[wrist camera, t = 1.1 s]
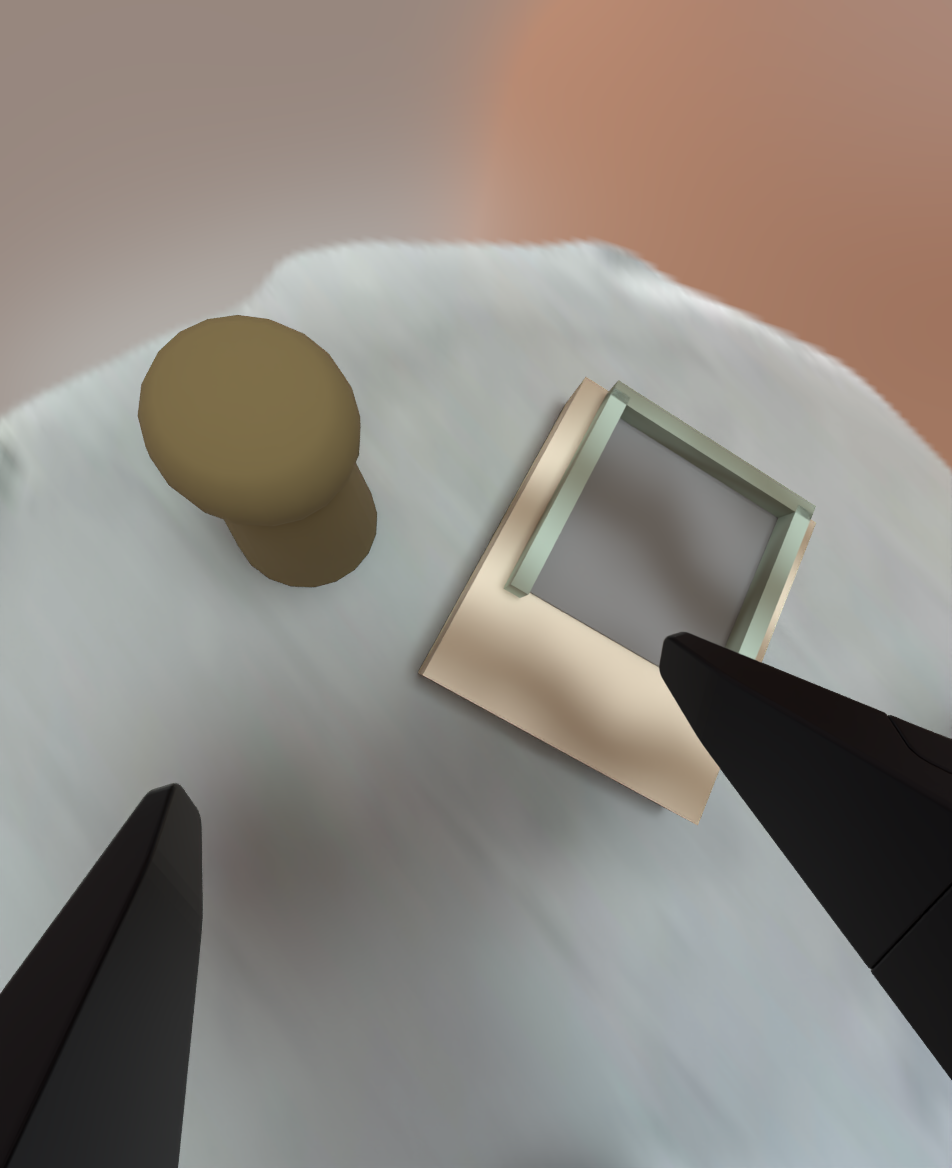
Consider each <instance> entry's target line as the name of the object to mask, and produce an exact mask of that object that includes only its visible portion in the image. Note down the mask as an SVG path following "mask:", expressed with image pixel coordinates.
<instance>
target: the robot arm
mask: <svg viewBox="0 0 952 1168" xmlns="http://www.w3.org/2000/svg"><path fill="white" fill-rule="evenodd" d="M659 671H660V675H661V677H662V679H663V681H664V682H665V684H666V686H667V687H668V689H669V691H670V692H671V694H672V696H673V697H674V699H675V701H676V702H677V704H678V706H679V707H680V709H681V711H682V712H683V714H684V716H685V717H686V719H687V721H688V722H689V724H690V726H691V728H692V729H693V731H694V732H695V734H696V736H697V737H698V739H699V740H700V742H701V743H702V745H703V746H704V747H705V749H706V750H707V752H708V753H709V754H710V756H711V757H712V758H713V760H714V761H715V762H716V764H717V765H718V766H719V768H720V769H721V770H722V772H723V773H724V775H725V776H726V777H727V779H728V780H729V781H730V783H731V784H732V785H733V787H734V788H735V789H736V791H737V792H738V793H739V795H740V796H741V797H742V799H743V800H744V801H745V803H746V804H747V805H748V807H749V808H750V809H751V811H752V812H753V813H754V815H755V816H756V817H757V819H758V820H759V822H760V823H761V824H762V826H763V827H764V828H765V830H766V831H767V832H768V834H769V835H770V836H771V838H772V839H773V840H774V842H775V843H776V844H777V846H778V847H779V848H780V850H781V851H782V852H783V854H784V855H785V856H786V858H787V859H788V860H789V862H790V863H791V865H792V866H793V867H794V869H795V870H796V871H797V873H798V874H799V875H800V877H801V878H802V879H803V881H804V882H805V883H806V885H807V886H808V887H809V889H810V890H811V891H812V893H813V894H814V895H815V897H816V898H817V899H818V901H819V902H820V903H821V905H822V906H823V907H824V909H825V910H826V912H827V913H828V914H829V916H830V917H831V918H832V920H833V921H834V922H835V924H836V925H837V926H838V928H839V929H840V930H841V932H842V933H843V934H844V936H845V937H846V938H847V940H848V941H849V942H850V944H851V945H852V946H853V948H854V949H855V950H856V952H857V953H858V954H859V956H860V957H861V959H862V960H863V961H864V963H865V964H866V965H867V967H868V968H870V969H871V972H872V974H873V975H874V977H875V978H876V979H877V981H878V982H879V983H880V985H881V986H882V987H883V989H884V990H885V991H886V993H887V994H888V995H889V997H890V998H891V999H892V1001H893V1002H894V1003H895V1005H896V1006H897V1007H898V1009H899V1010H900V1011H901V1013H902V1014H903V1015H904V1017H905V1018H906V1019H907V1021H908V1022H909V1023H910V1025H911V1026H912V1028H913V1029H914V1030H915V1032H916V1033H917V1034H918V1036H919V1037H920V1038H921V1040H922V1041H923V1042H924V1044H925V1045H926V1046H927V1048H928V1049H929V1050H930V1052H931V1053H932V1054H933V1056H934V1057H935V1058H936V1060H937V1061H938V1062H939V1064H940V1065H941V1066H942V1068H943V1069H944V1070H945V1072H946V1073H947V1074H948V1076H949V1077H950V1078H951V1080H952V739H950V738H947V737H945V736H942V735H940V734H937V733H934V732H932V731H929V730H927V729H924V728H922V727H919V726H917V725H914V724H912V723H909V722H907V721H904V720H902V719H899V718H897V717H894V716H892V715H888V716H887V714H886V713H884V712H882V711H879V710H877V709H875V708H872V707H870V706H867V705H865V704H862V703H860V702H857V701H855V700H853V699H850V698H848V697H845V696H843V695H840V694H838V693H835V692H833V691H830V690H828V689H826V688H823V687H821V686H818V685H816V684H813V683H811V682H808V681H806V680H804V679H801V678H799V677H796V676H794V675H791V674H789V673H786V672H784V671H781V670H779V669H777V668H774V667H772V666H769V665H767V664H764V663H762V662H759V661H757V660H755V659H752V658H750V657H747V656H745V655H742V654H740V653H737V652H735V651H732V650H730V649H728V648H725V647H723V646H720V645H718V644H715V643H713V642H710V641H708V640H706V639H703V638H701V637H698V636H696V635H693V634H691V633H688V632H679V633H676V634H672V635H669V636H667V637H666V638H665V639H664V641H663V645H662V651H661V657H660V662H659ZM202 919H203V892H202V826H201V818H200V814H199V811H198V810H197V808H196V806H195V805H194V804H193V802H192V801H191V799H190V798H189V796H188V795H187V793H186V792H185V790H184V789H183V788H182V786H181V785H179V784H177V783H173V784H169V785H166V786H163V787H159V788H156V789H153V790H151V791H149V792H148V793H147V794H146V795H145V796H144V798H143V799H142V800H141V802H140V803H139V805H138V806H137V807H136V809H135V810H134V811H133V813H132V814H131V815H130V817H129V818H128V820H127V821H126V822H125V824H124V825H123V826H122V828H121V829H120V830H119V832H118V833H117V835H116V836H115V837H114V839H113V840H112V841H111V843H110V844H109V846H108V847H107V848H106V850H105V851H104V852H103V854H102V855H101V856H100V858H99V859H98V861H97V862H96V863H95V865H94V866H93V867H92V869H91V870H90V872H89V873H88V874H87V876H86V877H85V878H84V880H83V881H82V882H81V884H80V885H79V887H78V888H77V889H76V891H75V892H74V893H73V895H72V896H71V897H70V899H69V900H68V902H67V903H66V904H65V906H64V907H63V908H62V910H61V911H60V913H59V914H58V915H57V917H56V918H55V919H54V921H53V922H52V923H51V925H50V926H49V928H48V929H47V930H46V932H45V933H44V934H43V936H42V937H41V939H40V940H39V941H38V943H37V944H36V945H35V947H34V948H33V949H32V951H31V952H30V954H29V955H28V956H27V958H26V959H25V960H24V962H23V963H22V965H21V966H20V967H19V969H18V970H17V971H16V973H15V974H14V975H13V977H12V978H11V980H10V981H9V982H8V984H7V985H6V986H5V988H4V989H3V990H2V992H1V993H0V1168H178V1163H179V1153H180V1143H181V1133H182V1123H183V1113H184V1103H185V1093H186V1083H187V1073H188V1063H189V1053H190V1043H191V1033H192V1023H193V1013H194V1003H195V993H196V983H197V974H198V964H199V954H200V944H201V933H202Z"/></svg>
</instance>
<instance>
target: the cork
mask: <svg viewBox="0 0 952 1168" xmlns="http://www.w3.org/2000/svg"><path fill="white" fill-rule="evenodd" d="M138 418H139V422H140V426H141V430H142V434H143V438H144V442H145V446H146V449H147V451H148V454H149V456H150V458H151V459H152V461H153V462H154V464H155V465H156V467H157V468H158V470H159V471H160V473H161V474H162V476H163V477H164V479H165V480H166V482H167V483H168V485H169V486H171V487H172V488H173V489H175V490H176V491H177V492H179V493H180V494H181V495H183V496H184V497H185V498H186V499H188V500H189V501H190V502H192V503H193V504H194V505H196V506H197V507H198V508H200V509H201V510H202V511H204V512H205V513H208V514H210V515H213V516H216V517H219V518H221V519H224V521H225V522H226V524H227V526H228V528H229V530H230V532H231V533H232V535H233V537H234V539H235V541H236V543H237V544H238V546H239V548H240V549H241V551H242V552H243V554H244V555H245V557H246V558H247V560H248V561H249V563H250V564H251V565H252V566H253V567H255V568H256V569H257V570H259V571H260V572H261V573H262V574H264V575H265V576H266V577H268V578H269V579H272V580H274V581H277V582H280V583H283V584H286V585H289V586H295V587H317V586H321V585H325V584H328V583H332V582H336V581H338V580H339V579H341V578H342V577H344V576H345V575H347V574H349V573H350V572H352V571H353V570H355V569H356V568H357V566H358V565H359V564H360V563H361V562H362V560H363V559H364V558H365V557H366V556H367V554H368V553H369V551H370V548H371V546H372V543H373V541H374V538H375V535H376V526H377V511H376V508H375V504H374V501H373V497H372V494H371V492H370V490H369V488H368V486H367V484H366V482H365V480H364V478H363V476H362V474H361V472H360V470H359V468H358V466H357V464H356V460H357V458H358V456H359V445H360V415H359V411H358V408H357V404H356V401H355V397H354V394H353V390H352V388H351V386H350V384H349V383H348V381H347V380H346V378H345V377H344V375H343V374H342V372H341V371H340V369H339V368H338V366H337V365H336V363H335V362H334V361H333V359H332V358H331V356H330V355H329V353H327V352H326V351H325V350H324V349H322V348H321V347H320V346H319V345H317V344H316V343H315V342H314V341H312V340H311V339H310V338H309V337H307V336H306V335H305V334H303V333H301V332H298V331H296V330H294V329H291V328H289V327H287V326H284V325H282V324H279V323H277V322H275V321H272V320H269V319H264V318H256V317H248V316H241V315H234V316H227V317H220V318H213V319H207V320H205V321H203V322H200V323H198V324H196V325H194V326H192V327H189V328H187V329H185V330H183V331H181V332H179V333H178V334H177V335H176V336H175V337H174V338H173V339H172V340H171V341H169V342H168V343H167V344H166V345H165V346H164V347H163V348H162V349H161V350H160V351H159V352H158V353H157V355H156V357H155V359H154V361H153V363H152V365H151V367H150V369H149V371H148V372H147V374H146V376H145V378H144V380H143V382H142V384H141V392H140V401H139V409H138Z"/></svg>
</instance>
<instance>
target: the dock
mask: <svg viewBox="0 0 952 1168" xmlns="http://www.w3.org/2000/svg"><path fill="white" fill-rule="evenodd" d="M815 507H816V506H815V505H813V504H811V503H810V502H808V501H807V500H805V499H804V498H802V497H800V496H799V495H797V494H796V493H794V492H793V491H791V490H789V489H788V488H786V487H785V486H783V485H782V484H780V483H778V482H777V481H775V480H774V479H772V478H771V477H769V476H768V475H766V474H764V473H763V472H761V471H760V470H758V469H757V468H755V467H753V466H752V465H750V464H749V463H747V462H746V461H744V460H742V459H741V458H739V457H738V456H736V455H735V454H733V453H731V452H730V451H728V450H727V449H725V448H724V447H722V446H721V445H719V444H717V443H716V442H714V441H713V440H711V439H710V438H708V437H706V436H705V435H703V434H702V433H700V432H699V431H697V430H695V429H694V428H692V427H691V426H689V425H688V424H686V423H684V422H683V421H681V420H680V419H678V418H677V417H675V416H674V415H672V414H670V413H669V412H667V411H666V410H664V409H663V408H661V407H659V406H658V405H656V404H655V403H653V402H652V401H650V400H648V399H647V398H645V397H644V396H642V395H641V394H639V393H638V392H636V391H634V390H633V389H631V388H630V387H628V386H627V385H625V384H623V383H622V382H620V381H618V382H617V383H616V384H615V385H614V386H613V387H612V389H611V390H610V391H607V390H606V389H604V388H603V387H601V386H599V385H598V384H596V383H595V382H593V381H592V380H590V379H588V378H587V377H585V379H584V380H583V381H582V383H581V384H580V385H579V387H578V388H577V389H576V391H575V392H574V393H573V395H572V396H571V397H570V399H569V400H568V401H567V403H566V404H565V406H564V408H563V410H562V412H561V413H560V415H559V417H558V419H557V421H556V422H555V424H554V426H553V428H552V430H551V432H550V433H549V435H548V437H547V439H546V441H545V442H544V444H543V446H542V448H541V450H540V452H539V453H538V455H537V457H536V459H535V461H534V462H533V464H532V466H531V468H530V470H529V472H528V473H527V475H526V477H525V479H524V481H523V482H522V484H521V486H520V488H519V490H518V492H517V493H516V495H515V497H514V499H513V501H512V502H511V504H510V506H509V508H508V510H507V512H506V513H505V515H504V517H503V519H502V521H501V523H500V524H499V526H498V528H497V530H496V532H495V533H494V535H493V537H492V539H491V541H490V543H489V544H488V546H487V548H486V550H485V552H484V553H483V555H482V557H481V559H480V561H479V563H478V564H477V566H476V568H475V570H474V572H473V573H472V575H471V577H470V579H469V581H468V583H467V584H466V586H465V588H464V590H463V592H462V593H461V595H460V597H459V599H458V601H457V603H456V604H455V606H454V608H453V610H452V612H451V613H450V615H449V617H448V619H447V621H446V623H445V624H444V626H443V628H442V630H441V632H440V633H439V635H438V637H437V639H436V641H435V643H434V644H433V646H432V648H431V650H430V652H429V653H428V655H427V657H426V659H425V661H424V663H423V664H422V666H421V668H420V670H419V672H418V673H419V674H421V675H423V676H424V677H426V678H428V679H430V680H432V681H434V682H435V683H437V684H439V685H441V686H443V687H445V688H446V689H448V690H450V691H452V692H454V693H456V694H457V695H459V696H461V697H463V698H465V699H467V700H468V701H470V702H472V703H474V704H476V705H478V706H479V707H481V708H483V709H485V710H487V711H488V712H490V713H492V714H494V715H496V716H498V717H499V718H501V719H503V720H505V721H507V722H509V723H510V724H512V725H514V726H516V727H518V728H520V729H521V730H523V731H525V732H527V733H529V734H531V735H532V736H534V737H536V738H538V739H540V740H542V741H543V742H545V743H547V744H549V745H551V746H553V747H554V748H556V749H558V750H560V751H562V752H564V753H565V754H567V755H569V756H571V757H573V758H575V759H576V760H578V761H580V762H582V763H584V764H586V765H587V766H589V767H591V768H593V769H595V770H597V771H598V772H600V773H602V774H604V775H606V776H608V777H609V778H611V779H613V780H615V781H617V782H618V783H620V784H622V785H624V786H626V787H628V788H629V789H631V790H633V791H635V792H637V793H639V794H640V795H642V796H644V797H646V798H648V799H650V800H651V801H653V802H655V803H657V804H659V805H661V806H662V807H664V808H666V809H668V810H670V811H672V812H674V813H676V814H677V815H679V816H681V817H683V818H685V819H687V820H689V821H691V822H692V823H694V824H696V825H698V823H699V821H700V818H701V816H702V813H703V811H704V808H705V806H706V803H707V800H708V798H709V795H710V793H711V790H712V788H713V785H714V783H715V780H716V777H717V775H718V772H719V770H720V768H719V766H718V765H717V764H716V762H715V761H714V760H713V758H712V757H711V756H710V754H709V753H708V752H707V750H706V749H705V747H704V746H703V745H702V743H701V742H700V740H699V739H698V737H697V736H696V734H695V732H694V731H693V729H692V728H691V726H690V724H689V722H688V721H687V719H686V717H685V716H684V714H683V712H682V711H681V709H680V707H679V706H678V704H677V702H676V701H675V699H674V697H673V696H672V694H671V692H670V691H669V689H668V687H667V686H666V684H665V682H664V681H663V679H662V677H661V675H660V671H659V662H660V657H661V651H662V645H663V641H664V639H665V638H666V637H667V636H669V635H672V634H676V633H679V632H688V633H691V634H693V635H696V636H698V637H701V638H703V639H706V640H708V641H710V642H713V643H715V644H718V645H720V646H723V647H725V648H728V649H730V650H732V651H735V652H737V653H740V654H742V655H745V656H747V657H750V658H752V659H755V660H757V661H759V662H762V660H763V657H764V655H765V652H766V650H767V647H768V644H769V642H770V639H771V637H772V634H773V632H774V629H775V627H776V624H777V621H778V619H779V616H780V614H781V611H782V609H783V606H784V604H785V601H786V598H787V596H788V593H789V591H790V588H791V586H792V583H793V581H794V578H795V575H796V573H797V570H798V568H799V565H800V563H801V560H802V558H803V555H804V552H805V550H806V547H807V545H808V542H809V540H810V537H811V535H812V532H813V529H814V527H815V524H816V523H815V522H814V521H812V520H811V517H812V515H813V512H814V510H815Z"/></svg>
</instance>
